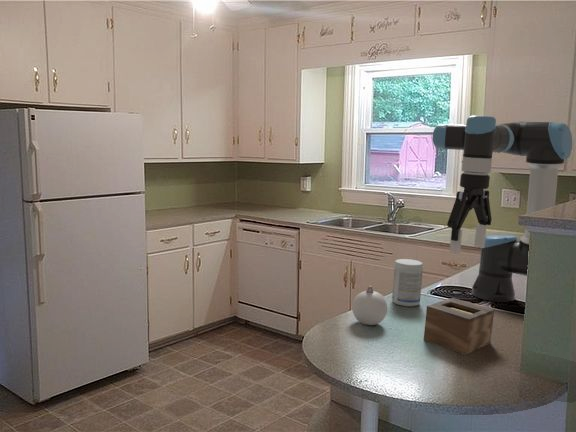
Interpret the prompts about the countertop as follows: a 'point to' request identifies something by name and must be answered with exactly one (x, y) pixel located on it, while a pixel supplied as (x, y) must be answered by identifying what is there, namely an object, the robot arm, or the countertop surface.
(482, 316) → the brown wooden slotted box
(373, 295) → the ornament
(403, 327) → the countertop surface
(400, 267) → the supplement tub
